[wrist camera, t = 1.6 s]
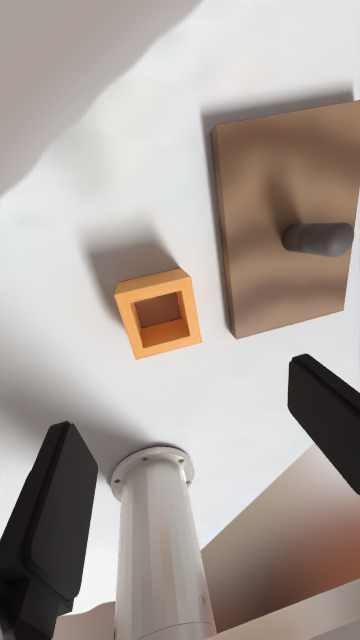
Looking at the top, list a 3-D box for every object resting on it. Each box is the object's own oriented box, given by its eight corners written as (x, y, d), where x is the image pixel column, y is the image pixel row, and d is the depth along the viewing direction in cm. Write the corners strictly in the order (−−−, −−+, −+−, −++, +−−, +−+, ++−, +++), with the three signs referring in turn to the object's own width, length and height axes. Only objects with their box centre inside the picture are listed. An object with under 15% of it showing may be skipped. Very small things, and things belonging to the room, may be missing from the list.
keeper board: (333, 306, 28) (390, 329, 22) (231, 333, 27) (260, 366, 21) (355, 106, 20) (456, 51, 14) (210, 132, 19) (248, 83, 12)
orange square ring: (191, 324, 26) (201, 342, 21) (135, 338, 25) (135, 360, 21) (180, 268, 23) (190, 276, 19) (117, 282, 22) (114, 294, 18)
